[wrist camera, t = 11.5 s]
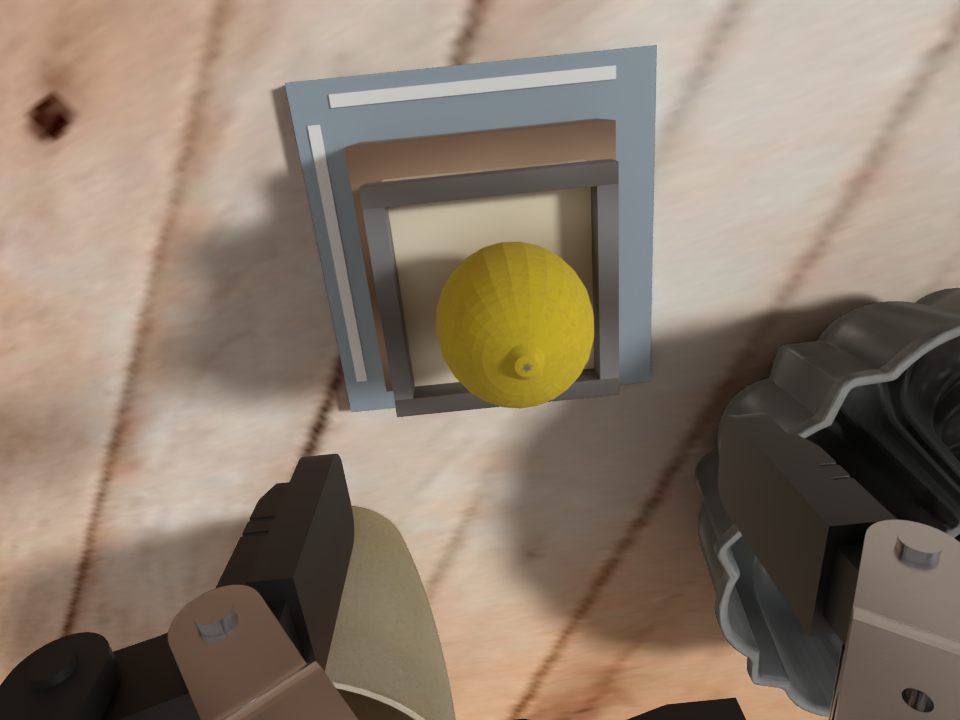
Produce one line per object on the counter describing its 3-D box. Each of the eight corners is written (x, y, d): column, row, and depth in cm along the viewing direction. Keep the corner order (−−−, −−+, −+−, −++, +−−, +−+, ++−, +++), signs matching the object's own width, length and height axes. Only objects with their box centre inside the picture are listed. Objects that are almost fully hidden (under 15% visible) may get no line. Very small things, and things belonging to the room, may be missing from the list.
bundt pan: (1055, 538, 43) (1218, 656, 34) (700, 641, 46) (761, 776, 37) (1067, 184, 33) (1303, 214, 24) (611, 341, 36) (666, 423, 27)
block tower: (357, 142, 30) (319, 156, 21) (595, 118, 30) (651, 123, 21) (393, 361, 35) (374, 443, 26) (599, 340, 35) (646, 416, 26)
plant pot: (211, 591, 42) (80, 853, 27) (286, 423, 37) (176, 632, 22) (406, 656, 45) (383, 922, 30) (499, 509, 40) (526, 742, 25)
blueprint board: (289, 83, 30) (284, 82, 29) (651, 46, 30) (657, 44, 29) (353, 406, 37) (351, 413, 36) (645, 376, 37) (650, 382, 36)
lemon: (476, 372, 26) (485, 475, 19) (414, 262, 24) (397, 330, 17) (591, 316, 26) (647, 401, 18) (537, 198, 24) (575, 240, 16)
